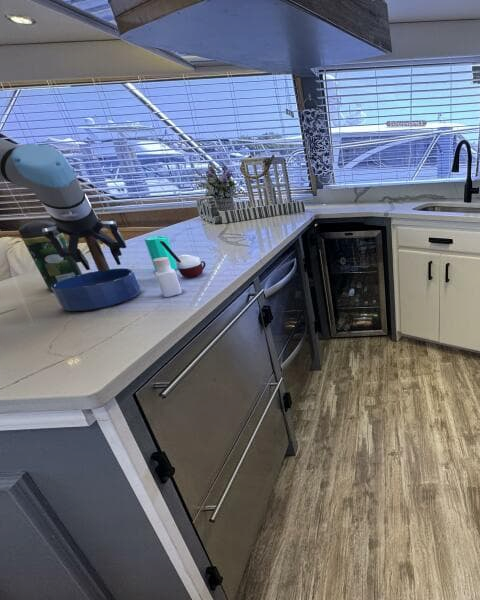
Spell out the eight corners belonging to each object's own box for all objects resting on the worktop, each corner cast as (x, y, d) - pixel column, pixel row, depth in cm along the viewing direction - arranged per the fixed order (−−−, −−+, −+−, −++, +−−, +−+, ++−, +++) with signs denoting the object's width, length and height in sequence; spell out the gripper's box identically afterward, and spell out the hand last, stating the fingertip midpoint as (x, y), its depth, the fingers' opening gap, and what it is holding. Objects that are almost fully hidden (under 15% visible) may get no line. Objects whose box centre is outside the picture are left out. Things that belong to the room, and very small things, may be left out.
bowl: (58, 319, 72) (45, 294, 69) (67, 299, 83) (56, 277, 80) (142, 300, 80) (133, 277, 78) (140, 285, 91) (132, 264, 89)
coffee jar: (49, 285, 94) (16, 221, 86) (85, 278, 99) (57, 217, 91) (47, 294, 87) (12, 225, 80) (86, 286, 92) (56, 220, 85)
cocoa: (206, 271, 101) (195, 233, 96) (211, 275, 97) (199, 236, 92) (171, 278, 96) (157, 238, 91) (174, 283, 91) (160, 242, 86)
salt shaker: (164, 298, 81) (151, 262, 77) (162, 294, 84) (149, 259, 80) (182, 294, 83) (171, 258, 79) (180, 290, 86) (168, 255, 82)
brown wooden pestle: (99, 290, 88) (72, 231, 82) (100, 286, 92) (74, 228, 85) (122, 286, 91) (98, 228, 84) (122, 281, 95) (99, 225, 88)
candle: (161, 273, 100) (147, 235, 96) (152, 271, 103) (138, 234, 99) (181, 268, 105) (169, 231, 100) (172, 266, 108) (160, 230, 103)
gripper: (12, 228, 67) (60, 282, 85) (127, 216, 78) (147, 266, 96) (6, 200, 69) (54, 259, 87) (119, 193, 79) (140, 246, 98)
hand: (103, 263), depth 92 cm, fingers open, 6 cm apart
